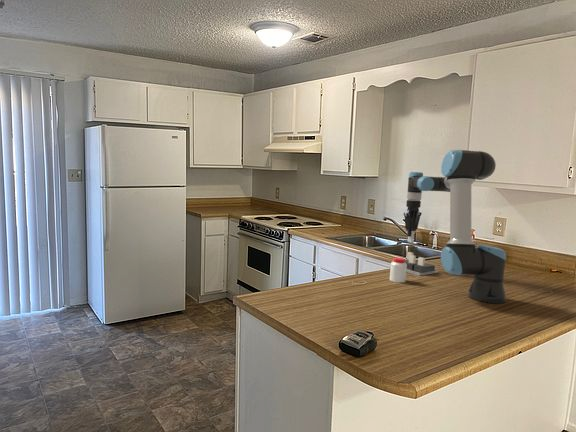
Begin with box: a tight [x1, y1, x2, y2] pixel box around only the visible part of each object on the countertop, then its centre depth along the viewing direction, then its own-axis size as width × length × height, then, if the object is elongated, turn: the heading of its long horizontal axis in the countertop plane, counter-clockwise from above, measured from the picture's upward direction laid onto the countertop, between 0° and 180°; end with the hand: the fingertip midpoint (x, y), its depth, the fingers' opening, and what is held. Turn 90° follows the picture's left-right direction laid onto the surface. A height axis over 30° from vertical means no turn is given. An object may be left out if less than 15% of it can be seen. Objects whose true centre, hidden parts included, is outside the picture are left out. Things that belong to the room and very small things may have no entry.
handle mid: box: [409, 255, 417, 264], centre depth 237 cm, size 3×2×4 cm, turn 36°
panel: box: [404, 258, 439, 277], centre depth 239 cm, size 18×16×4 cm
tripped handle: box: [406, 251, 415, 260], centre depth 245 cm, size 3×2×4 cm, turn 36°
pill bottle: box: [389, 257, 407, 284], centre depth 215 cm, size 8×8×11 cm
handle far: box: [417, 256, 426, 266], centre depth 232 cm, size 3×2×4 cm, turn 36°
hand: (410, 242), depth 244 cm, fingers closed
